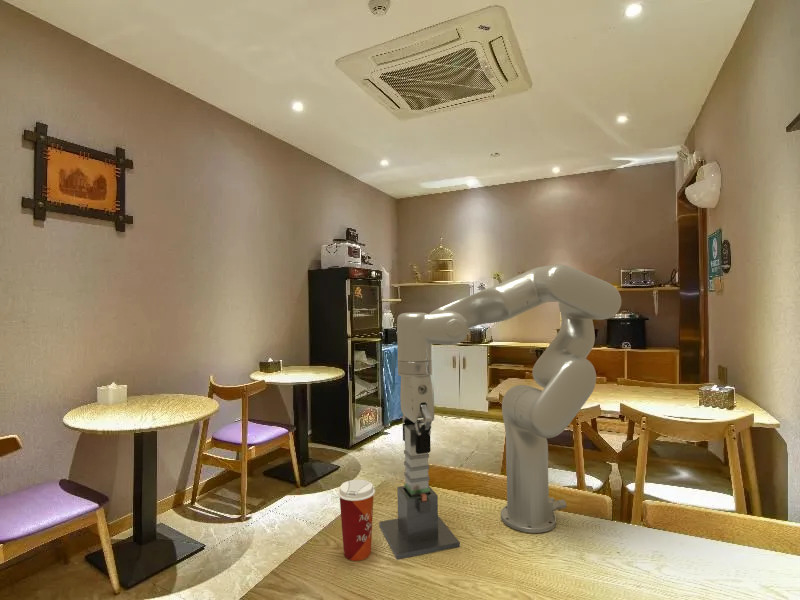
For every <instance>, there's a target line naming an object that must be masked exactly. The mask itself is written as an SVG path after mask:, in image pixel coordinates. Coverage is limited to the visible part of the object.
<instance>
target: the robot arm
mask: <svg viewBox="0 0 800 600" xmlns="http://www.w3.org/2000/svg"><path fill="white" fill-rule="evenodd" d="M546 303H558V309H559V313H560V318H561V325H560V329H559V330H558V333H557V334H556V336H555V337H554V338H553V340H552V341H551V342H550V344H549V345H548V346H547V347H546V348H545V350H544V351H543V352H542V354H541V355H540V356H539V357H538V359H537V360H536V362H535V363H534V364H533V368H532V379H533V380H534V382H535V383H536V384H538V386H540V387H542V388H543V389H539V388H536V387H533V386H530V385H526V384H516V385H514V386H512V387H510V388H509V389H508V390H506V392H505V393H504V395H503V398H502V401H501V402H502V403H501V410H502V411H501V414H502V418H503V419H502V420H503V425H504V432H505V450H506V451H505V455H506V458H505V459H506V460H505V461H506V505H505V506H503V507H502V509H501V510H500V519H501V521H502V522H503V523H504V524H505V525H506V526H507V527H510V529H513V530H516V531H518V532H521V533H522V532H523V533H530V534H540V533H542V534H543V533H546V532H549V531H551V530H553V529H554V528H555V527H556V525H557V517H556V515H555V514H554V512H556V511H557V510H563V509H566V508H567V502H566V501H565V499H558V500H556V499H555V497H553V496H551V497H549V496H550V495H549V494H550V493H549V489H550V487H549V446H548V445H549V443H548V440H547V439H552V438H555V437H557V436H559V435H561V434H562V433H563V432H564V431H565V430H566V429H567V428H568V427H569V425H570V424H571V423H572V421H573V420H574V418H575V417H577V415H578V413H579V412H580V411H581V409H582V407H584V405H585V404H586V402H587V401H588V400H589V398H590V397H591V395H592V394H593V392H594V389H595V386H596V382H597V373H596V370H595V369H596V368H595V367H594V365H593V363H592V362H591V361H590V360H589V359H587V357H588V356H589V354H590V353H591V351H592V350H593V348H594V345H595V341H596V334H595V326H594V322H593V320H596V321H597V320H600V321H601V320H602V321H603V320H608V319H611V318H612V317H615V315H617V314H618V313H619V311H620V309H621V306H622V297H621V294H620V292H619V290H618V288H617V287H615V286H614V285H613V284H612V283H610V282H608V281H605V280H604V279H601V278H598V277H596V276H593V275H591V274H589V273H586V272H584V271H582V270H579V269H577V268H575V267H572V266H568V265H566V264H559V263H558V264H551V265H550V264H549V265H544V266H538V267H535V268H531V269H530V270H527V271H525V272H523V273H521V274H518V275H517V276H513V277H511V278H509V279H507V280H505V281H503V282H500V283H498V284H495V285H493V286H491V287H488V288H486V289H483V290H480V291H478V292H476V293H473V294H470V295H468V296H465V297H463V298H460V299H457V300H455V301H453V302H450V303H448V304H445V305H443V306H440V307H438V308H436V309H434V310H433V311H431V312H429V313H426V312H404V313H403V312H402V313H400V314H399V315H398V316H397V320H396V321H397V322H396V323H397V324H396V326H397V327H396V328H397V330H396V332H397V334H396V335H397V337H396V339H397V375H398V376H400V391H399V392H400V398H399V399H400V400H399V401H400V411H401V414H402V421H401V422H402V441H403V442H405V425H413V424H415V426H416V431H417V435H415V443H416V453H417V454H422V453H428V454H430V453H431V452H432V451H431V433H432V431H431V429H432V422H433V421H435V403H434V389H433V383H432V377H431V376H432V375H433V374H432V373H433V369H432V368H433V367H432V365H433V364H432V344H435V345H443V346H445V345H446V346H453V345H459V344H460V343H462V342H463V341H464V340H465V339H466V338H467V336H468V334H469V329H470V328H474V327H476V326H480V325H484V324H485V325H486V324H495V323H500V322H504V321H508V320H510V319H513V318H515V317H517V316H519V315H521V314H523V313H526V312H528V311H530V310H532V309H534V308H536V307H538V306H541V305H543V304H546ZM419 424H422V426H421V428H420V425H419Z"/></svg>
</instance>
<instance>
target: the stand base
mask: <svg viewBox="0 0 800 600" xmlns="http://www.w3.org/2000/svg"><path fill="white" fill-rule="evenodd" d="M428 487H429V488H430V492H429V495H426V494H425V493H424V494H421V496H416V497H409V496H408V494H407V493H406V488H405V486H404V485H403V486H397V487H396V488H397V489H396V490H397V492H396V493H397V518H393V519H388V520H382V521H381V520H380V521H379V523H378V524H379V528H380V530H381V532H382V533H383V536H384V538H385V539H386V542H387V543H388V545H389V548H390V549H391V551H392V553H393V556H394V557H395V559H396V560H402V559H407V558H412V557H416V556H422V555H426V554H432V553H437V552H442V551H447V550H450V549H455V548H457V549H458V548H460V547H461V542H460V541H459V539H458V538H457V536H455V534H454V533H453V532H452V531H451V529H449V527H448V526H447V525H446V523H445V522H444V521H443V520H442V519H441V517H440V516H439V510H438V509H439V508H438V507H439V504H438V502H439V500H438V499H439V497H438V494H437V493H436V492H435V491H434V490H433V489H432V487H431V486H430V485H429V484H428Z"/></svg>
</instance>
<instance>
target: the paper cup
mask: <svg viewBox="0 0 800 600" xmlns="http://www.w3.org/2000/svg"><path fill="white" fill-rule="evenodd" d="M375 493H376V489H375V487H374V485H373V484H372V482H370V481H368V480H366V479H351V480H347V481H344V482H343V483H342V484H340V487H339V490H338V492H337V496H338V497H339V505H340V507H339V508H340V520H341V530H342V544H343V545H342V547H343V553H344V557H345V558H346V559H347V560H348V561H353V562H356V561H357V562H359V561H364V560H366V559H368V558H369V557H370V555H371V554H372V553H371V552H372V541H373V539H372V538H373V520H374V519H373V514H374V513H373V512H374V511H373V510H374V495H375Z"/></svg>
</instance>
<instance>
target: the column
mask: <svg viewBox="0 0 800 600" xmlns="http://www.w3.org/2000/svg"><path fill="white" fill-rule="evenodd" d="M419 425H420V428H421V426H422V424H419ZM415 435H417V431H416V426H415V424H413V425H405V441H404V449H403V455H404V462H403V464H404V466H405V467H404V468H405V469H404V470H405V472H404V473H403V475H404V477H405V483H404V485H403V486H405V488H406V493H407V494H408V496H409V497H416V496H421V494H424V493H425V494H426V495H429V492H430V488H429V487H428V485H429V481H430V476H429V470H430V465H429V458H430V453H422V454H417V453H416V443H415Z"/></svg>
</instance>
